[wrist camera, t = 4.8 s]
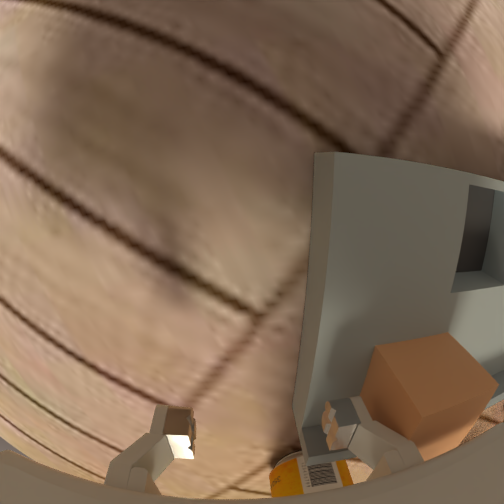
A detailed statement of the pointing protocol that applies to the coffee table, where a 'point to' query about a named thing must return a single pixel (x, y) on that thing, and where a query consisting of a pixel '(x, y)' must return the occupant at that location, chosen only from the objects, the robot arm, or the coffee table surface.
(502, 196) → the trap board
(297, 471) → the beer can
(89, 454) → the coffee table surface
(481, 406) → the block
